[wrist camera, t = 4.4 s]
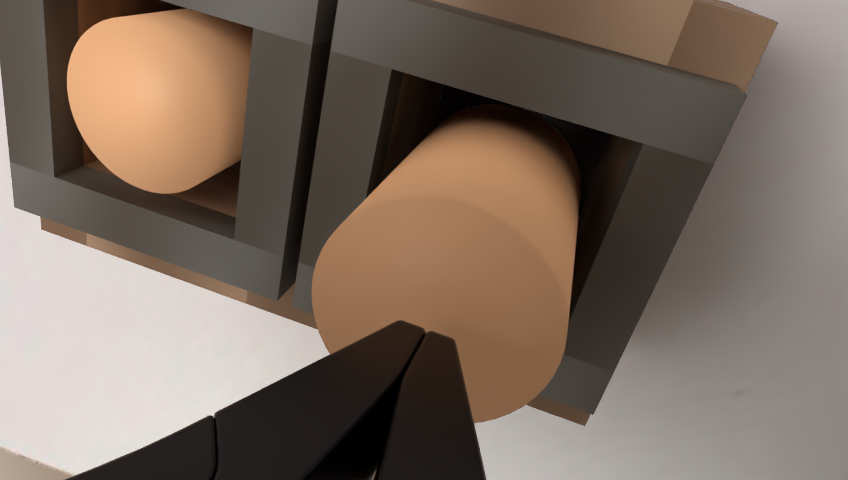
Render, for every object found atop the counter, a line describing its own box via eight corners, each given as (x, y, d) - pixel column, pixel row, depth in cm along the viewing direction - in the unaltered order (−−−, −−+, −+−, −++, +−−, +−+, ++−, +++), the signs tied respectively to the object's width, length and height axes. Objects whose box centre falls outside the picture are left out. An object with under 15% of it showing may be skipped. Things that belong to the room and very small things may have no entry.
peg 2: (606, 133, 13) (608, 249, 8) (549, 284, 15) (520, 457, 10) (434, 82, 14) (332, 159, 9) (398, 234, 16) (296, 373, 11)
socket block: (728, 3, 15) (793, 28, 10) (589, 322, 20) (583, 454, 15) (159, -147, 17) (-34, -191, 12) (153, 174, 22) (11, 243, 17)
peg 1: (338, 19, 18) (229, 46, 13) (319, 145, 20) (216, 215, 15) (216, -17, 18) (62, -5, 13) (208, 110, 20) (70, 164, 15)
